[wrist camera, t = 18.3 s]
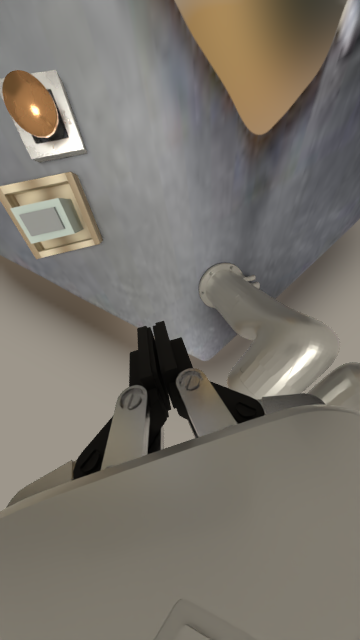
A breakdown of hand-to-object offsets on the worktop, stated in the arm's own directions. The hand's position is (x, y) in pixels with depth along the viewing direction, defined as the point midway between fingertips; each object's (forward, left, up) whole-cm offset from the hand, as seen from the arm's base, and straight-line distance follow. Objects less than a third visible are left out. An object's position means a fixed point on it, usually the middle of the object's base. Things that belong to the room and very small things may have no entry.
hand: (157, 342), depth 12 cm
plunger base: (+8, -20, -35) cm, 41 cm away
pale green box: (+13, -8, -34) cm, 37 cm away
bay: (+13, -8, -35) cm, 38 cm away
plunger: (+8, -20, -35) cm, 41 cm away
